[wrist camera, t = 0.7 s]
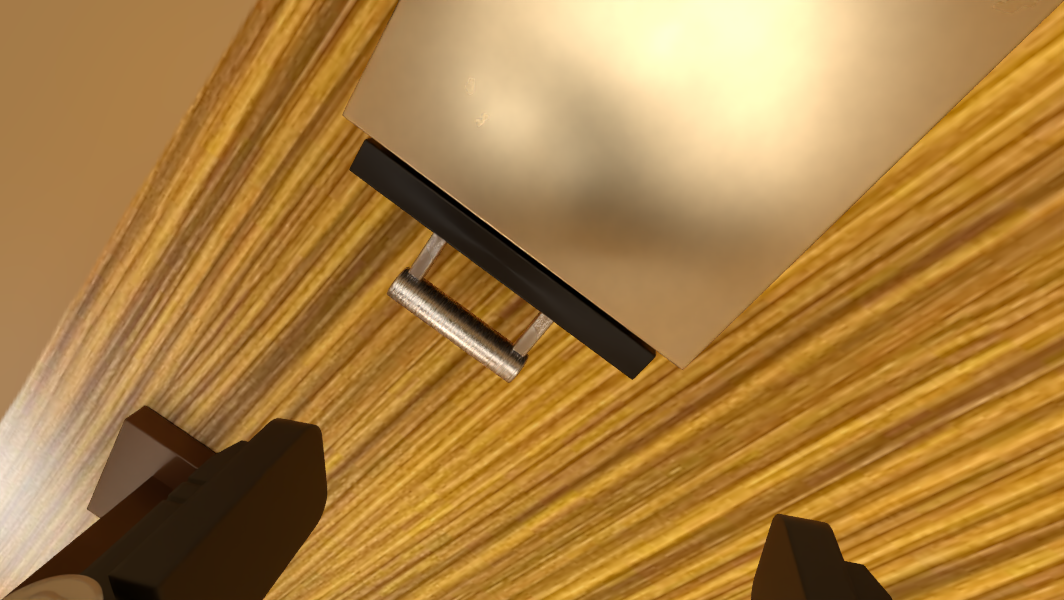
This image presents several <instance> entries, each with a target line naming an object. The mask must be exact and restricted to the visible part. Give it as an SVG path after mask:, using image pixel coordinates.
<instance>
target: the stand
mask: <svg viewBox="0 0 1064 600" xmlns="http://www.w3.org/2000/svg"><path fill="white" fill-rule="evenodd" d="M215 454H216V453H214V452H213V451H211V450H210V449H208V448H207V447H205V446H204V445H203V444H201V443H200V442H198V441H197V440H195V439H194V438H192V437H191V436H189V435H188V434H186V433H185V432H183V431H182V430H181V429H179V428H178V427H176V426H175V425H173V424H172V423H170V422H169V421H167V420H166V419H164V418H163V417H161V416H160V415H159V414H157V413H156V412H154V411H153V410H151V409H150V408H148V407H147V406H144V407H142V408H141V409H139V410H138V411H136V412H135V413H133V414H132V415H130V416H129V417H128V418H126V419H125V420H124V423H123V425H122V427H121V430H120V432H119V434H118V437H117V439H116V441H115V444H114V446H113V449H112V451H111V453H110V456H109V458H108V460H107V463H106V465H105V467H104V470H103V472H102V474H101V477H100V479H99V482H98V484H97V486H96V489H95V491H94V493H93V496H92V498H91V500H90V503H89V505H88V508H87V510H89V511H90V512H92V513H93V514H95V515H96V516H98V517H99V518H100V519H99V520H98V521H97V522H95V523H94V524H93V525H92V526H90V527H89V528H88V529H87V530H86V531H84V532H83V533H82V534H81V535H80V536H78V537H77V538H76V539H75V540H73V541H72V542H71V543H70V544H69V545H67V546H66V547H65V548H64V549H63V550H61V551H60V552H59V553H58V554H56V555H55V556H54V557H53V558H52V559H50V560H49V561H48V562H47V563H46V564H44V565H43V566H42V567H41V568H39V569H38V570H37V571H36V572H35V573H33V574H32V575H31V576H30V577H29V578H27V579H26V580H25V581H24V582H22V583H21V584H20V585H19V586H18V587H16V588H15V589H14V590H13V591H12V592H10V593H9V594H8V595H10V594H12V593H13V592H15V591H17V590H19V589H21V588H23V587H25V586H27V585H29V584H32V583H34V582H37V581H40V580H43V579H46V578H49V577H54V576H59V575H67V574H78V575H79V574H80V573H81V572H83V571H84V570H85V569H86V568H87V567H89V566H90V565H91V564H92V563H93V562H94V561H95V560H96V559H97V558H99V557H100V556H101V555H102V554H103V553H104V552H105V551H106V550H107V549H109V548H110V547H111V546H112V545H113V544H114V543H115V542H116V541H118V540H119V539H120V538H121V537H122V536H123V535H124V534H125V533H126V532H128V531H129V530H130V529H131V528H132V527H133V526H134V525H135V524H136V523H138V522H139V521H140V520H141V519H142V518H143V517H144V516H145V515H147V514H148V513H149V512H150V511H151V510H152V509H153V508H154V507H155V506H157V505H158V504H159V503H160V502H161V501H162V500H167V498H168V495H169V494H170V493H171V492H172V491H173V490H174V489H175V488H177V487H178V486H179V485H180V484H181V483H182V482H187V480H188V477H189V476H190V475H191V474H192V473H193V472H194V471H196V470H197V469H198V468H199V467H200V466H201V465H202V464H203V463H204V462H206V461H207V460H208V459H209V458H210V457H211V456H213V455H215ZM8 595H7V596H8ZM7 596H5V597H7ZM5 597H4V598H5Z"/></svg>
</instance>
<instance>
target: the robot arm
mask: <svg viewBox="0 0 1064 600" xmlns="http://www.w3.org/2000/svg"><path fill="white" fill-rule="evenodd" d="M326 499H327V481H326V471H325V460H324V450H323V440H322V433H321V430H320V428H319V427H318V426H317V425H313V424H308V423H303V422H297V421H292V420H287V419H281V418H276V419H274V420H272V421H270V422H269V423H268V424H267V425H266V426H265V427H264V428H263V429H262V430H261V431H260V432H258V433H257V434H256V435H255V436H254V437H253V438H252V439H251V440H250V441H249V442H247V441H240V442H238V443H236V444H234V445H232V446H230V447H228V448H226V449H224V450H223V451H221V452H219V453H217V454H215V455H213V456H211V457H210V458H209V459H208V460H207V461H206V462H204V463H203V464H202V465H201V466H200V467H199V468H198V469H197V470H196V471H194V472H193V473H192V474H191V475H190V476H189V477H188V480H187V482H182V483H181V484H180V485H179V486H178V487H177V488H175V489H174V490H173V491H172V492H171V493H170V494H169V495H168V498H167V500H162V501H161V502H160V503H159V504H158V505H157V506H155V507H154V508H153V509H152V510H151V511H150V512H149V513H148V514H147V515H145V516H144V517H143V518H142V519H141V520H140V521H139V522H138V523H136V524H135V525H134V526H133V527H132V528H131V529H130V530H129V531H128V532H126V533H125V534H124V535H123V536H122V537H121V538H120V539H119V540H118V541H116V542H115V543H114V544H113V545H112V546H111V547H110V548H109V549H107V550H106V551H105V552H104V553H103V554H102V555H101V556H100V557H99V558H97V559H96V560H95V561H94V562H93V563H92V564H91V565H90V566H89V567H87V568H86V569H85V570H84V571H83V572H81V573H80V574H79V575H78V574H67V575H59V576H54V577H49V578H46V579H43V580H40V581H37V582H34V583H32V584H29V585H27V586H25V587H23V588H21V589H19V590H17V591H15V592H13V593H12V594H10V595H8V596H7V597H5V598H3V599H2V600H263V599H264V597H265V596H266V594H267V593H268V592H269V590H270V589H271V587H272V586H273V585H274V583H275V582H276V581H277V579H278V578H279V576H280V575H281V574H282V572H283V571H284V570H285V568H286V567H287V565H288V564H289V563H290V561H291V560H292V559H293V557H294V556H295V554H296V553H297V552H298V550H299V549H300V547H301V546H302V545H303V543H304V542H305V541H306V539H307V538H308V536H309V535H310V534H311V532H312V531H313V530H314V528H315V527H316V525H317V524H318V522H319V520H320V518H321V516H322V514H323V511H324V508H325V504H326ZM751 600H892V598H891V596H890V595H889V594H888V593H887V592H886V590H885V589H884V588H883V587H882V586H881V585H880V583H879V582H878V581H877V580H876V579H875V578H874V576H873V575H872V574H871V573H870V572H869V571H868V569H867V568H866V567H865V566H864V565H862V564H857V563H852V562H847V561H844V559H843V557H842V554H841V551H840V549H839V546H838V543H837V541H836V538H835V535H834V533H833V530H832V528H831V527H830V525H829V524H828V523H825V522H820V521H814V520H809V519H804V518H799V517H793V516H788V515H783V514H777V515H775V517H774V518H773V520H772V523H771V526H770V529H769V533H768V536H767V539H766V542H765V545H764V548H763V552H762V555H761V558H760V561H759V564H758V568H757V571H756V574H755V577H754V581H753V586H752V593H751Z"/></svg>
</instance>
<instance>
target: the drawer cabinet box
mask: <svg viewBox="0 0 1064 600" xmlns="http://www.w3.org/2000/svg"><path fill="white" fill-rule="evenodd" d="M1063 1H1064V0H399V2H398V4H397V6H396V8H395V10H394V12H393V14H392V16H391V18H390V20H389V22H388V24H387V26H386V28H385V30H384V32H383V34H382V36H381V38H380V40H379V42H378V44H377V46H376V48H375V50H374V52H373V54H372V56H371V58H370V60H369V62H368V64H367V66H366V68H365V70H364V72H363V74H362V76H361V78H360V80H359V82H358V84H357V86H356V88H355V90H354V92H353V94H352V96H351V98H350V100H349V102H348V104H347V106H346V108H345V110H344V112H343V116H344V117H345V118H347V119H348V120H349V121H351V122H352V123H353V124H355V125H356V126H357V127H359V128H360V129H361V130H363V131H364V132H365V133H367V134H368V135H369V136H371V137H372V138H373V139H375V140H376V141H377V142H379V143H380V144H381V145H383V146H384V147H385V148H387V149H388V150H389V151H391V152H392V153H393V154H395V155H396V156H397V157H399V158H400V159H401V160H403V161H404V162H405V163H407V164H408V165H409V166H411V167H412V168H413V169H415V170H416V171H417V172H419V173H420V174H421V175H423V176H424V177H425V178H427V179H428V180H429V181H431V182H432V183H433V184H435V185H436V186H437V187H439V188H440V189H441V190H443V191H444V192H445V193H447V194H448V195H449V196H451V197H452V198H453V199H455V200H456V201H457V202H459V203H460V204H461V205H463V206H464V207H465V208H467V209H468V210H469V211H471V212H472V213H473V214H475V215H476V216H477V217H479V218H480V219H481V220H483V221H484V222H485V223H487V224H488V225H489V226H491V227H492V228H493V229H495V230H496V231H497V232H499V233H500V234H501V235H503V236H504V237H505V238H507V239H508V240H509V241H511V242H512V243H514V244H515V245H516V246H518V247H519V248H520V249H522V250H523V251H524V252H526V253H527V254H528V255H530V256H531V257H532V258H534V259H535V260H536V261H538V262H539V263H540V264H542V265H543V266H544V267H546V268H547V269H548V270H550V271H551V272H552V273H554V274H555V275H556V276H558V277H559V278H560V279H562V280H563V281H564V282H566V283H567V284H568V285H570V286H571V287H572V288H574V289H575V290H576V291H578V292H579V293H580V294H582V295H583V296H584V297H586V298H587V299H588V300H590V301H591V302H592V303H594V304H595V305H596V306H598V307H599V308H600V309H602V310H603V311H604V312H606V313H607V314H608V315H610V316H611V317H612V318H614V319H615V320H616V321H618V322H619V323H620V324H622V325H623V326H624V327H626V328H627V329H628V330H630V331H631V332H632V333H634V334H635V335H636V336H638V337H639V338H640V339H642V340H643V341H644V342H646V343H647V344H648V345H650V346H651V347H652V348H654V349H655V350H656V351H658V352H659V353H660V354H662V355H663V356H664V357H666V358H667V359H668V360H670V361H671V362H672V363H674V364H675V365H676V366H678V367H679V368H680V369H682V370H683V369H684V368H685V367H686V366H688V365H689V364H690V363H691V362H692V361H693V360H694V359H695V358H696V357H697V356H698V355H699V354H700V353H701V352H702V351H703V350H704V349H705V348H706V347H707V346H708V345H709V344H710V343H711V342H712V341H713V340H714V339H715V338H716V337H717V336H718V335H719V334H721V333H722V332H723V331H724V330H725V329H726V328H727V327H728V326H729V325H730V324H731V323H732V322H733V321H734V320H735V319H736V318H737V317H738V316H739V315H740V314H741V313H742V312H743V311H744V310H745V309H746V308H747V307H748V306H749V305H750V304H751V303H752V302H753V301H755V300H756V299H757V298H758V297H759V296H760V295H761V294H762V293H763V292H764V291H765V290H766V289H767V288H768V287H769V286H770V285H771V284H772V283H773V282H774V281H775V280H776V279H777V278H778V277H779V276H780V275H781V274H782V273H783V272H784V271H785V270H786V269H788V268H789V267H790V266H791V265H792V264H793V263H794V262H795V261H796V260H797V259H798V258H799V257H800V256H801V255H802V254H803V253H804V252H805V251H806V250H807V249H808V248H809V247H810V246H811V245H812V244H813V243H814V242H815V241H816V240H817V239H818V238H819V237H821V236H822V235H823V234H824V233H825V232H826V231H827V230H828V229H829V228H830V227H831V226H832V225H833V224H834V223H835V222H836V221H837V220H838V219H839V218H840V217H841V216H842V215H843V214H844V213H845V212H846V211H847V210H848V209H849V208H850V207H851V206H852V205H854V204H855V203H856V202H857V201H858V200H859V199H860V198H861V197H862V196H863V195H864V194H865V193H866V192H867V191H868V190H869V189H870V188H871V187H872V186H873V185H874V184H875V183H876V182H877V181H878V180H879V179H880V178H881V177H882V176H883V175H884V174H885V173H887V172H888V171H889V170H890V169H891V168H892V167H893V166H894V165H895V164H896V163H897V162H898V161H899V160H900V159H901V158H902V157H903V156H904V155H905V154H906V153H907V152H908V151H909V150H910V149H911V148H912V147H913V146H914V145H915V144H916V143H917V142H918V141H920V140H921V139H922V138H923V137H924V136H925V135H926V134H927V133H928V132H929V131H930V130H931V129H932V128H933V127H934V126H935V125H936V124H937V123H938V122H939V121H940V120H941V119H942V118H943V117H944V116H945V115H946V114H947V113H948V112H949V111H950V110H951V109H953V108H954V107H955V106H956V105H957V104H958V103H959V102H960V101H961V100H962V99H963V98H964V97H965V96H966V95H967V94H968V93H969V92H970V91H971V90H972V89H973V88H974V87H975V86H976V85H977V84H978V83H979V82H980V81H981V80H982V79H983V78H984V77H986V76H987V75H988V74H989V73H990V72H991V71H992V70H993V69H994V68H995V67H996V66H997V65H998V64H999V63H1000V62H1001V61H1002V60H1003V59H1004V58H1005V57H1006V56H1007V55H1008V54H1009V53H1010V52H1011V51H1012V50H1013V49H1014V48H1015V47H1016V46H1017V45H1019V44H1020V43H1021V42H1022V41H1023V40H1024V39H1025V38H1026V37H1027V36H1028V35H1029V34H1030V33H1031V32H1032V31H1033V30H1034V29H1035V28H1036V27H1037V26H1038V25H1039V24H1040V23H1041V22H1042V21H1043V20H1044V19H1045V18H1046V17H1047V16H1048V15H1049V14H1050V13H1052V12H1053V11H1054V10H1055V9H1056V8H1057V7H1058V6H1059V5H1060V4H1061V3H1062V2H1063Z"/></svg>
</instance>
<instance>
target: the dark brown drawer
mask: <svg viewBox="0 0 1064 600" xmlns="http://www.w3.org/2000/svg"><path fill="white" fill-rule="evenodd" d="M349 170H350V171H351V172H353V173H354V174H355V175H357V176H358V177H359V178H361V179H362V180H363V181H365V182H366V183H367V184H369V185H370V186H371V187H373V188H374V189H375V190H377V191H378V192H380V193H381V194H382V195H384V196H385V197H386V198H388V199H389V200H390V201H392V202H393V203H394V204H396V205H397V206H398V207H400V208H401V209H402V210H404V211H405V212H407V213H408V214H409V215H411V216H412V217H413V218H415V219H416V220H417V221H419V222H420V223H421V224H423V225H424V226H425V227H427V228H428V229H429V230H431V231H432V232H433V234H432V235H431V237H430V239H429V240H428V242H427V243H426V245H425V246H424V248H423V249H422V251H421V252H420V254H419V255H418V257H417V259H416V260H415V262H414V263H413V265H412V266H411V268H410V267H407V268H405V269H404V270H403V271H402V272H401V273H400V274H399V275H398V277H397V278H396V279H395V280H394V282H393V283H392V285H391V286H390V288H389V290H388V292H387V295H388V296H389V297H391V298H392V299H393V300H395V301H396V302H398V303H399V304H400V305H402V306H403V307H404V308H406V309H407V310H409V311H410V312H411V313H413V314H414V315H415V316H417V317H418V318H420V319H421V320H422V321H424V322H425V323H426V324H428V325H429V326H431V327H432V328H433V329H435V330H436V331H438V332H439V333H440V334H442V335H443V336H444V337H446V338H447V339H449V340H450V341H451V342H453V343H454V344H455V345H457V346H458V347H460V348H461V349H462V350H464V351H465V352H466V353H468V354H469V355H471V356H472V357H473V358H475V359H476V360H477V361H479V362H480V363H482V364H483V365H484V366H486V367H487V368H489V369H490V370H491V371H493V372H494V373H495V374H497V375H498V376H500V377H501V378H502V379H504V380H505V381H506V382H508V383H510V382H511V381H512V380H513V379H514V378H515V377H516V376H517V375H518V374H519V372H520V371H521V369H522V368H523V367H524V365H525V363H526V362H527V360H528V357H529V355H528V354H527V353H528V352H529V351H530V349H531V348H532V347H533V346H534V345H535V343H536V342H537V341H538V340H539V339H540V337H541V336H542V335H543V334H544V333H545V331H546V330H547V329H548V328H549V327H550V325H551V324H552V323H553V322H555V323H556V324H558V325H559V326H560V327H562V328H563V329H564V330H566V331H567V332H568V333H570V334H571V335H573V336H574V337H575V338H577V339H578V340H579V341H581V342H582V343H583V344H585V345H586V346H587V347H589V348H590V349H591V350H593V351H594V352H595V353H597V354H598V355H600V356H601V357H602V358H604V359H605V360H606V361H608V362H609V363H610V364H612V365H613V366H614V367H616V368H617V369H618V370H620V371H621V372H622V373H624V374H625V375H626V376H628V377H629V378H631V379H632V380H633V379H634V378H635V377H636V376H637V375H638V374H639V373H640V372H641V371H642V370H643V369H644V368H645V367H646V366H647V365H648V364H649V363H650V362H651V361H652V360H653V359H654V358H655V356H656V350H655V349H654V348H652V347H651V346H650V345H648V344H647V343H646V342H644V341H643V340H642V339H640V338H639V337H638V336H636V335H635V334H634V333H632V332H631V331H630V330H628V329H627V328H626V327H624V326H623V325H622V324H620V323H619V322H618V321H616V320H615V319H614V318H612V317H611V316H610V315H608V314H607V313H606V312H604V311H603V310H602V309H600V308H599V307H598V306H596V305H595V304H594V303H592V302H591V301H590V300H588V299H587V298H586V297H584V296H583V295H582V294H580V293H579V292H578V291H576V290H575V289H574V288H572V287H571V286H570V285H568V284H567V283H566V282H564V281H563V280H562V279H560V278H559V277H558V276H556V275H555V274H554V273H552V272H551V271H550V270H548V269H547V268H546V267H544V266H543V265H542V264H540V263H539V262H538V261H536V260H535V259H534V258H532V257H531V256H530V255H528V254H527V253H526V252H524V251H523V250H522V249H520V248H519V247H518V246H516V245H515V244H514V243H512V242H511V241H509V240H508V239H507V238H505V237H504V236H503V235H501V234H500V233H499V232H497V231H496V230H495V229H493V228H492V227H491V226H489V225H488V224H487V223H485V222H484V221H483V220H481V219H480V218H479V217H477V216H476V215H475V214H473V213H472V212H471V211H469V210H468V209H467V208H465V207H464V206H463V205H461V204H460V203H459V202H457V201H456V200H455V199H453V198H452V197H451V196H449V195H448V194H447V193H445V192H444V191H443V190H441V189H440V188H439V187H437V186H436V185H435V184H433V183H432V182H431V181H429V180H428V179H427V178H425V177H424V176H423V175H421V174H420V173H419V172H417V171H416V170H415V169H413V168H412V167H411V166H409V165H408V164H407V163H405V162H404V161H403V160H401V159H400V158H399V157H397V156H396V155H395V154H393V153H392V152H391V151H389V150H388V149H387V148H385V147H384V146H383V145H381V144H380V143H379V142H377V141H376V140H375V139H373V138H368V139H365V140H364V142H363V144H362V146H361V148H360V150H359V152H358V154H357V155H356V157H355V159H354V161H353V163H352V165H351V167H350V169H349ZM447 243H448V244H450V245H451V246H452V247H454V248H455V249H456V250H458V251H459V252H461V253H462V254H463V255H465V256H466V257H467V258H469V259H470V260H471V261H473V262H474V263H475V264H477V265H478V266H479V267H481V268H482V269H483V270H485V271H486V272H487V273H489V274H490V275H492V276H493V277H494V278H496V279H497V280H498V281H500V282H501V283H502V284H504V285H505V286H506V287H508V288H509V289H510V290H512V291H513V292H514V293H516V294H517V295H519V296H520V297H521V298H523V299H524V300H525V301H527V302H528V303H529V304H531V305H532V306H533V307H535V308H536V309H537V310H539V311H540V312H539V313H538V315H537V316H536V317H535V318H534V319H533V321H532V322H531V323H530V324H529V326H528V327H527V328H526V329H525V330H524V332H523V333H522V334H521V335H520V337H519V338H518V339H517V340H516V341H515V343H512V342H511V341H510V340H508V339H507V338H506V337H504V336H503V335H501V334H500V333H499V332H497V331H496V330H495V329H493V328H492V327H491V326H489V325H488V324H486V323H485V322H484V321H482V320H481V319H480V318H478V317H477V316H475V315H474V314H473V313H471V312H470V311H469V310H467V309H466V308H465V307H463V306H462V305H460V304H459V303H458V302H456V301H455V300H454V299H452V298H451V297H450V296H448V295H447V294H445V293H444V292H443V291H441V290H440V289H439V288H437V287H436V286H435V285H433V284H432V283H430V282H429V281H428V280H426V279H425V278H424V277H425V276H426V275H427V273H428V272H429V270H430V269H431V267H432V266H433V264H434V263H435V261H436V260H437V258H438V257H439V255H440V254H441V252H442V251H443V249H444V248H445V246H446V245H447Z"/></svg>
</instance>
